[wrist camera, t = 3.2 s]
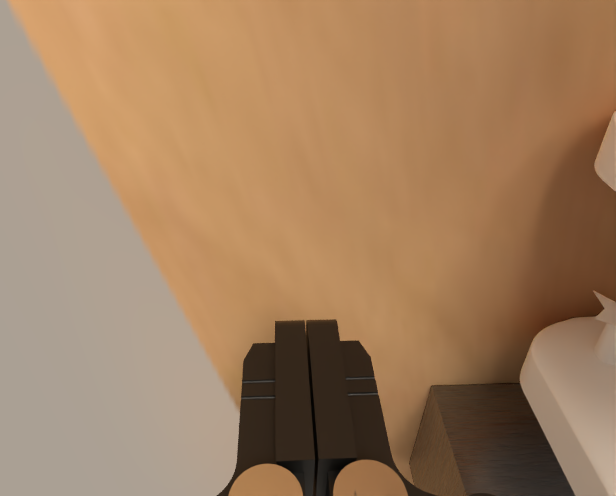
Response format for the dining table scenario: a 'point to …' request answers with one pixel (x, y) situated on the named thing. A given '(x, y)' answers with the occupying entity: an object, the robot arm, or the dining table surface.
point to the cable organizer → (579, 379)
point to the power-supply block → (484, 445)
